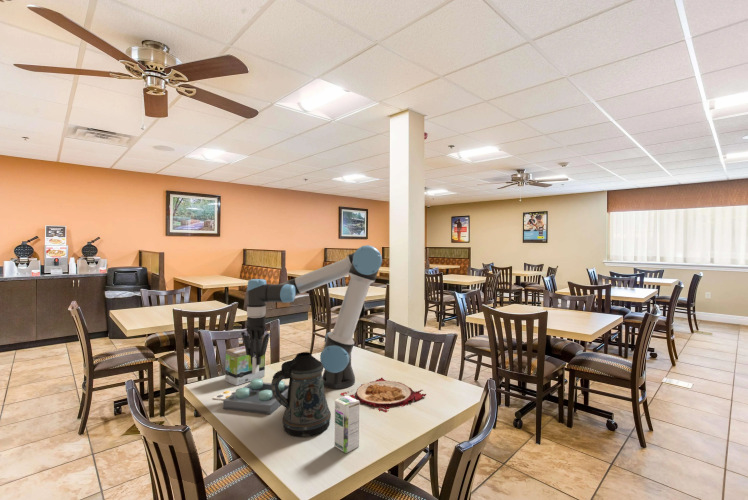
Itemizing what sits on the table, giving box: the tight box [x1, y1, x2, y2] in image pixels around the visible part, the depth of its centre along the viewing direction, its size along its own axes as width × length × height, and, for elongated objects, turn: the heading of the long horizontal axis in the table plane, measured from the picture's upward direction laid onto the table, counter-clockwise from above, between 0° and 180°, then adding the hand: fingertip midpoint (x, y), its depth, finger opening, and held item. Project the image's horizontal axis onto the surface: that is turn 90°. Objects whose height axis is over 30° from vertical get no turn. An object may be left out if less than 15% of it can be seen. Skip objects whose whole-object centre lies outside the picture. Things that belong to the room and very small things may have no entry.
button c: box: [249, 378, 264, 389], centre depth 151 cm, size 5×5×2 cm
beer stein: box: [270, 351, 332, 438], centre depth 123 cm, size 16×19×25 cm
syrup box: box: [333, 395, 360, 454], centre depth 111 cm, size 6×6×14 cm
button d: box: [235, 387, 249, 399], centre depth 141 cm, size 5×5×2 cm
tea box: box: [224, 345, 266, 387], centre depth 169 cm, size 15×10×15 cm
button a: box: [278, 380, 285, 391], centre depth 148 cm, size 5×5×2 cm
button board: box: [222, 382, 289, 415], centre depth 145 cm, size 20×20×3 cm
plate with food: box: [340, 377, 427, 414], centre depth 149 cm, size 25×26×4 cm
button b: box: [259, 390, 272, 402], centre depth 138 cm, size 5×5×2 cm
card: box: [212, 389, 236, 401], centre depth 149 cm, size 8×8×1 cm
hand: (255, 372), depth 151 cm, fingers closed
